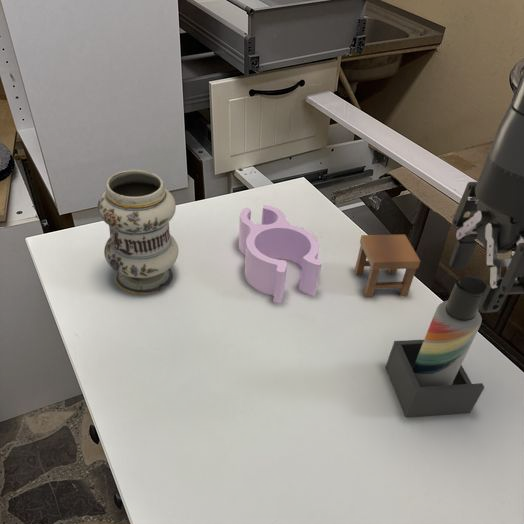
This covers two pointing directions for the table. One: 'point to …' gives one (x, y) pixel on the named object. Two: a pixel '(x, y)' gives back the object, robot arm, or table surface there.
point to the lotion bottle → (450, 334)
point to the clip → (277, 252)
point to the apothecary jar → (139, 230)
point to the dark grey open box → (432, 397)
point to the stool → (386, 261)
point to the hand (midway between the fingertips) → (471, 287)
